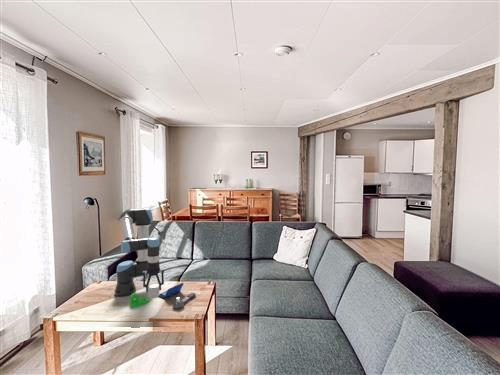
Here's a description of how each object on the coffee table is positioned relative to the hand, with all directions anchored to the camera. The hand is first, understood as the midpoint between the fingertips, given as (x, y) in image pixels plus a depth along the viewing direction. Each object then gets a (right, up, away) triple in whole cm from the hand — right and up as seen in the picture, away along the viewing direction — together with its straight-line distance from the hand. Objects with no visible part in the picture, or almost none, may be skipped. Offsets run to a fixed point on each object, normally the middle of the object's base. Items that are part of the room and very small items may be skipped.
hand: (153, 295), depth 182 cm
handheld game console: (+3, -11, +27) cm, 30 cm away
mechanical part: (-14, -11, +14) cm, 23 cm away
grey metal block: (0, 0, 0) cm, 0 cm away
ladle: (+17, -11, +15) cm, 25 cm away
